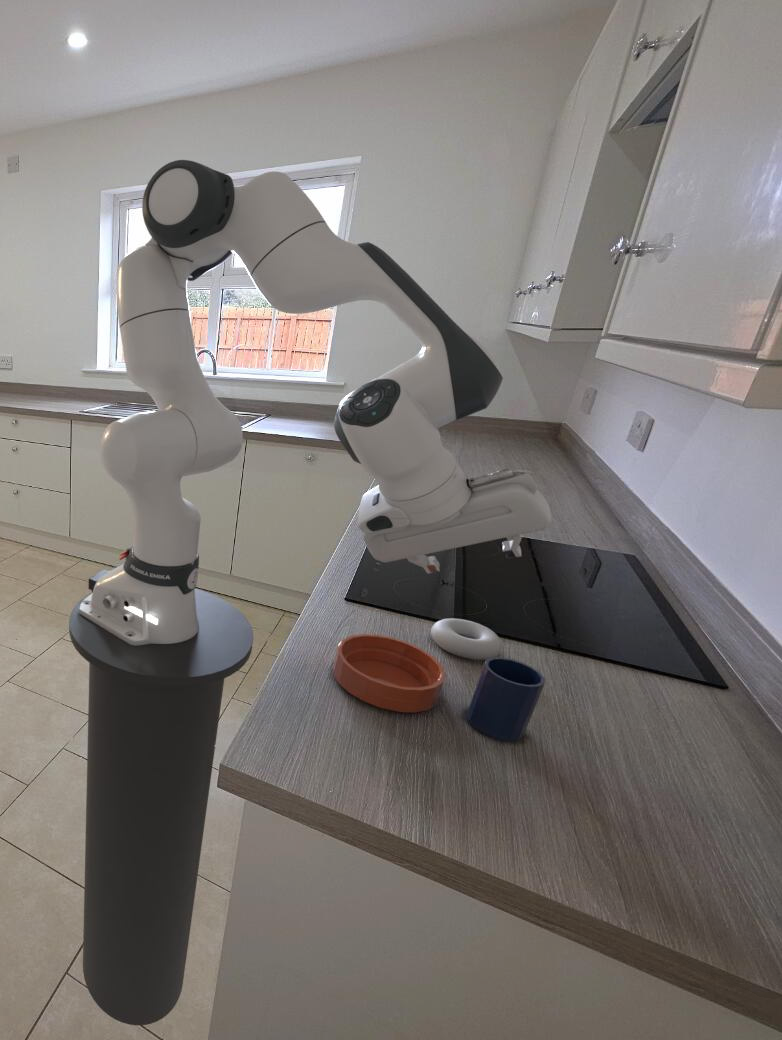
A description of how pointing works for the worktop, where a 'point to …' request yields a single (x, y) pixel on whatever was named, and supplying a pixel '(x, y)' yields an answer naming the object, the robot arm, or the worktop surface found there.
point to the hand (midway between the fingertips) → (472, 562)
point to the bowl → (388, 673)
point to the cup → (505, 698)
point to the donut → (466, 639)
